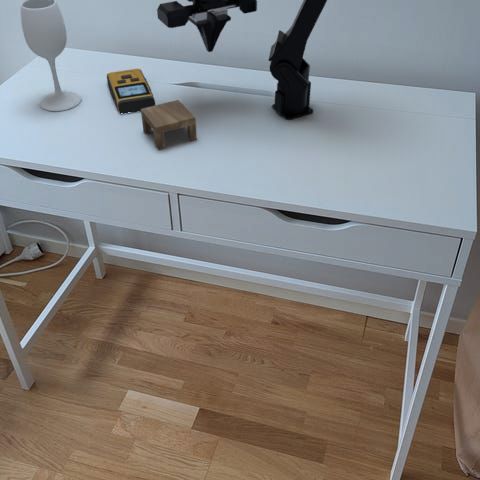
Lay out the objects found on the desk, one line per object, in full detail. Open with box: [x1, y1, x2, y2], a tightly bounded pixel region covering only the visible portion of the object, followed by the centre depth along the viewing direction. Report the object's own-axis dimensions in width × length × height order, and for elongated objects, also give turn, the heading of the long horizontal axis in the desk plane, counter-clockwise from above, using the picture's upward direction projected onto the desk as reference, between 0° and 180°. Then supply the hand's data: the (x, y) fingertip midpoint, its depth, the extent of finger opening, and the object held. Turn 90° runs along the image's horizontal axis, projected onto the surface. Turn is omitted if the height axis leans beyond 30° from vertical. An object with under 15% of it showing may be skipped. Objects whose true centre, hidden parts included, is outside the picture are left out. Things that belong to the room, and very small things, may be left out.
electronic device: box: [106, 68, 156, 115], centre depth 128 cm, size 8×16×3 cm, turn 18°
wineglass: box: [20, 0, 82, 112], centre depth 120 cm, size 9×9×21 cm
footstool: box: [140, 99, 198, 151], centre depth 115 cm, size 5×8×8 cm
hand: (209, 51), depth 118 cm, fingers closed
